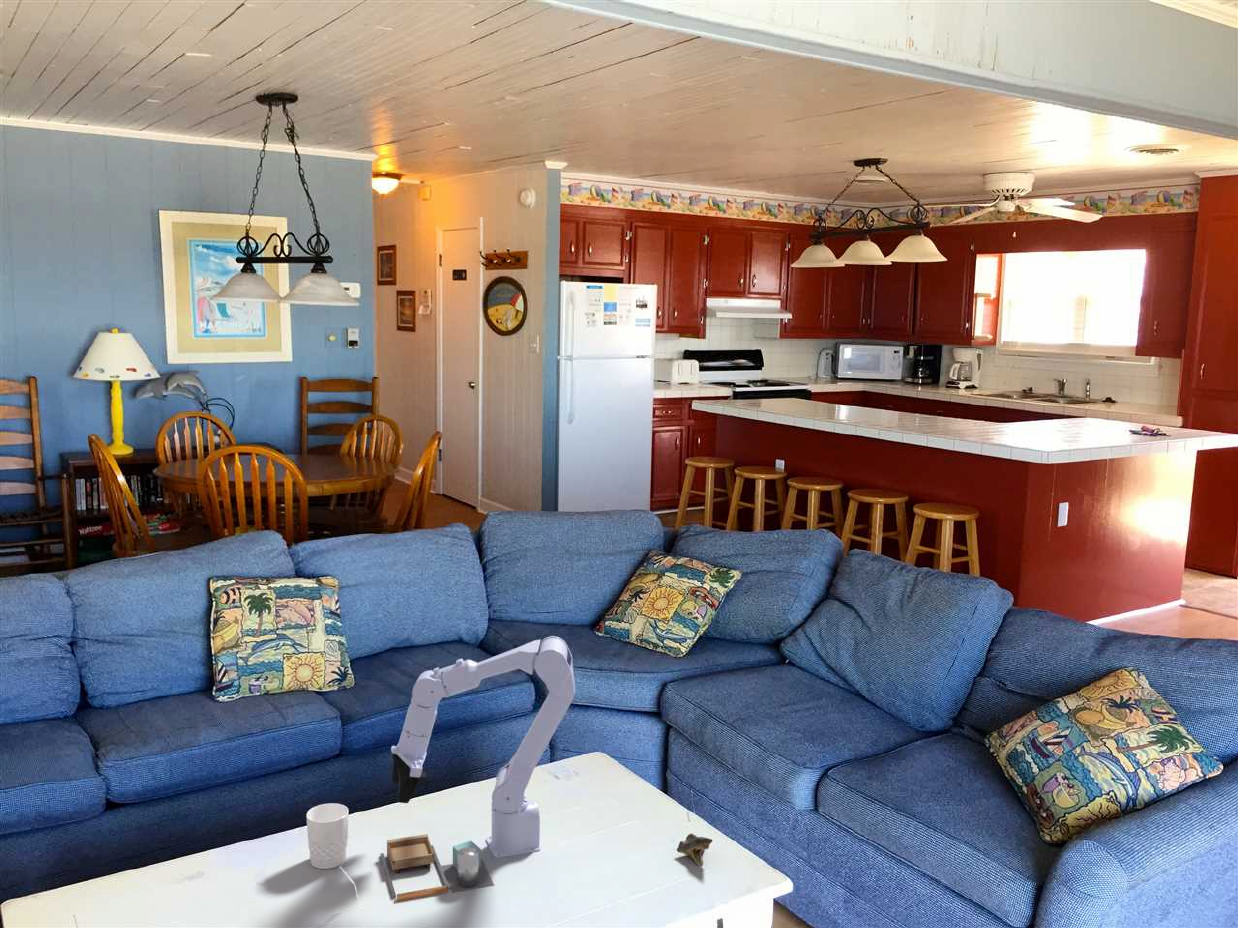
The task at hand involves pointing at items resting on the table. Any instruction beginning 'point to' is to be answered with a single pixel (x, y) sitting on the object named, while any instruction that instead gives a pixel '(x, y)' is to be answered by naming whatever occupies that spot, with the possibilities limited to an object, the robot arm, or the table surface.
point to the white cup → (327, 835)
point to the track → (420, 892)
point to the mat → (452, 880)
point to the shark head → (694, 847)
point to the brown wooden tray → (410, 852)
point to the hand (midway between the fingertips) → (399, 791)
